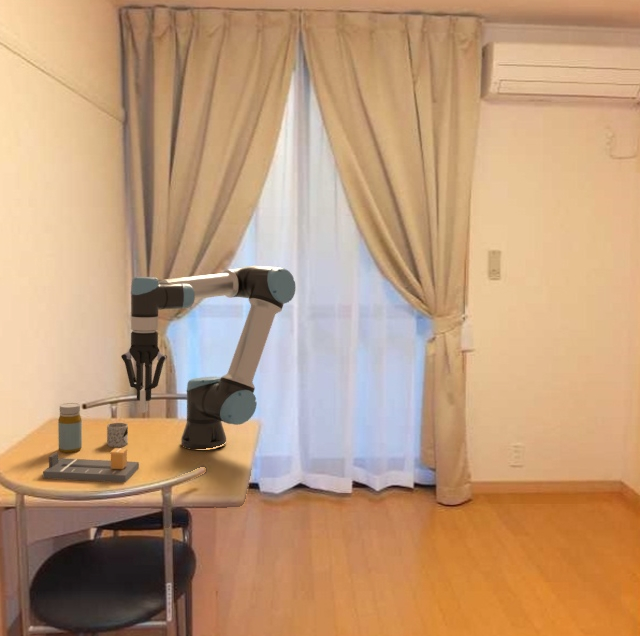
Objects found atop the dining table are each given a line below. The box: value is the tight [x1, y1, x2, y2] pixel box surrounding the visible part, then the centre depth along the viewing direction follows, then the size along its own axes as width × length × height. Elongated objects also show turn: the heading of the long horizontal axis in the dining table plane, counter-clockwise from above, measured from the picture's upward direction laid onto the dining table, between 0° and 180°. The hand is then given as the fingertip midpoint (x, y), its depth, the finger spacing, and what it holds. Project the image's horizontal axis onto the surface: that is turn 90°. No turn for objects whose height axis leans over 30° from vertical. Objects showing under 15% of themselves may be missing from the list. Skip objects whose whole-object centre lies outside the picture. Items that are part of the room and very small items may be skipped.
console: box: [42, 452, 140, 483], centre depth 199 cm, size 24×12×5 cm, turn 87°
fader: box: [109, 447, 128, 469], centre depth 199 cm, size 4×4×5 cm
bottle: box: [57, 402, 83, 454], centre depth 219 cm, size 7×7×15 cm
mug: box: [106, 422, 129, 448], centre depth 229 cm, size 10×7×7 cm, turn 20°
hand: (143, 411), depth 197 cm, fingers closed
